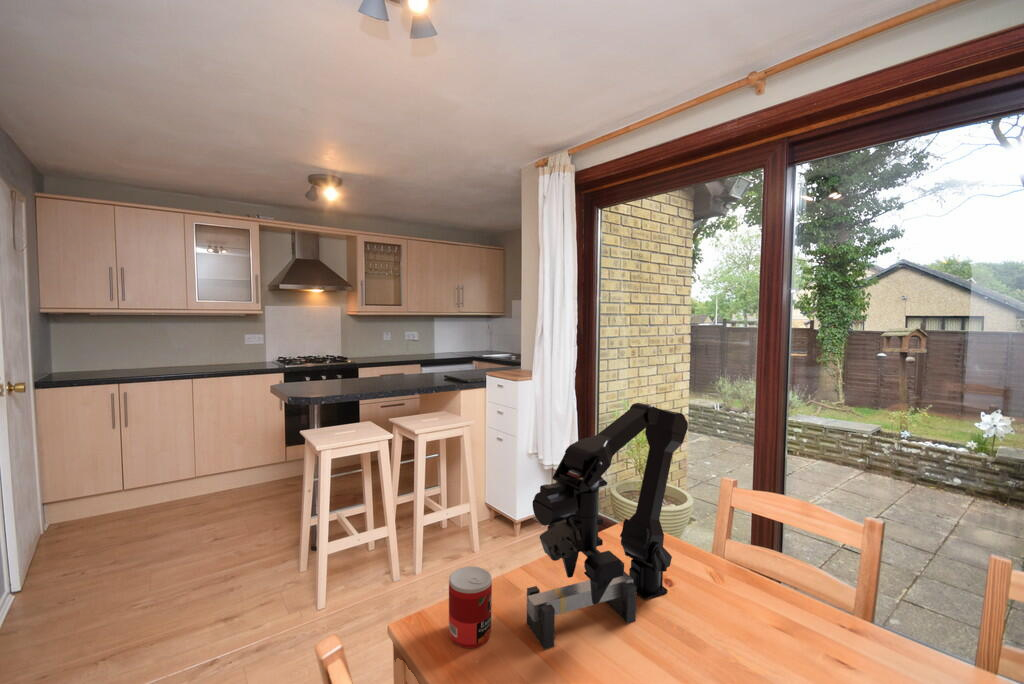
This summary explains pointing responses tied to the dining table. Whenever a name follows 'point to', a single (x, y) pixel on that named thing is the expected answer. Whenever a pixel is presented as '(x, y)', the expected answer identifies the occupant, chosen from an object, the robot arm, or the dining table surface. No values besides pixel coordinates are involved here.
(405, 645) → the dining table surface
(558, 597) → the grey metal bar
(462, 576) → the canned food
